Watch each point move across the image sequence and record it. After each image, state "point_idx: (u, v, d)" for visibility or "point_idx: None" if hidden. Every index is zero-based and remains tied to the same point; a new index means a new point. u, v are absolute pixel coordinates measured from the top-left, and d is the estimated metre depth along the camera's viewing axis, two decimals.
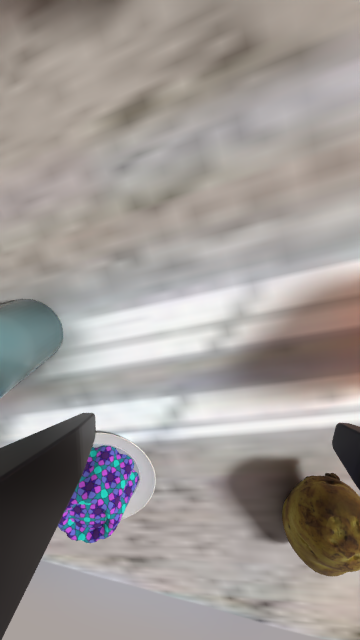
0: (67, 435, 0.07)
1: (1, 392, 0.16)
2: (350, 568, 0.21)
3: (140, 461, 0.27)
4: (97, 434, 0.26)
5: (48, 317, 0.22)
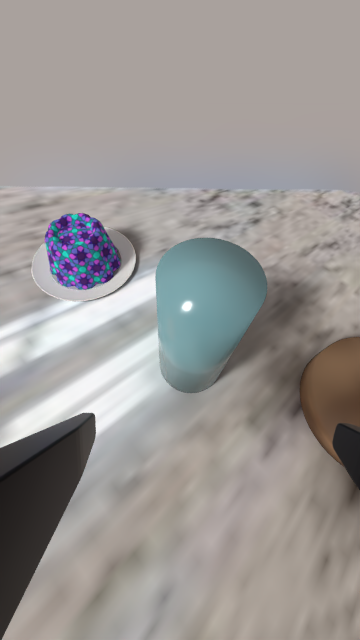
0: (67, 435, 0.07)
1: None
2: None
3: (52, 285, 0.28)
4: (98, 296, 0.28)
5: (175, 384, 0.22)
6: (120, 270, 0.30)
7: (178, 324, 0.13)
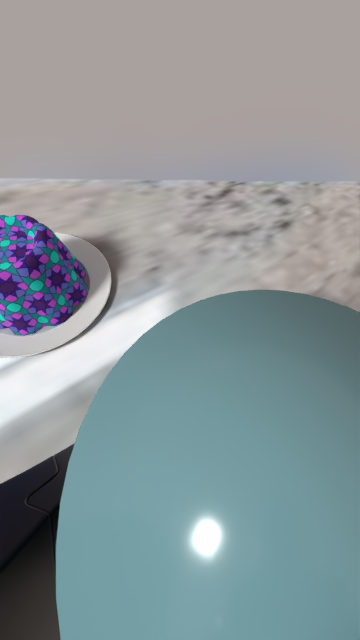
0: None
1: None
2: None
3: None
4: (40, 350, 0.17)
5: None
6: (85, 305, 0.19)
7: None
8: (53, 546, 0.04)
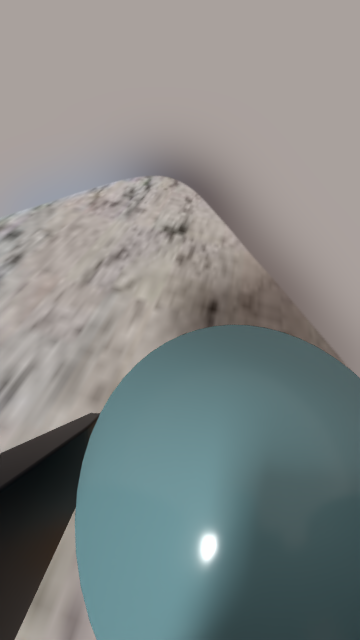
0: (76, 435, 0.07)
1: None
2: None
3: None
4: None
5: None
6: None
7: None
8: None
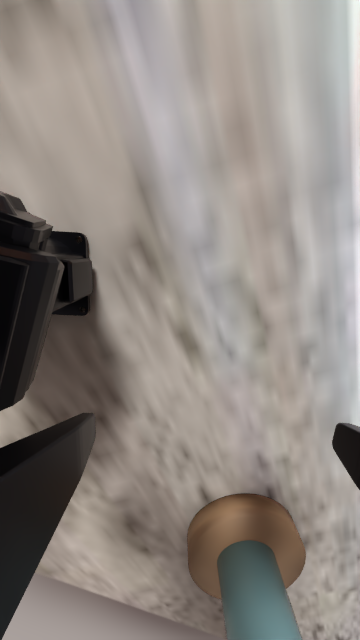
0: (67, 435, 0.07)
1: None
2: None
3: None
4: None
5: (250, 556, 0.24)
6: None
7: None
8: None
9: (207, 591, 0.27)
